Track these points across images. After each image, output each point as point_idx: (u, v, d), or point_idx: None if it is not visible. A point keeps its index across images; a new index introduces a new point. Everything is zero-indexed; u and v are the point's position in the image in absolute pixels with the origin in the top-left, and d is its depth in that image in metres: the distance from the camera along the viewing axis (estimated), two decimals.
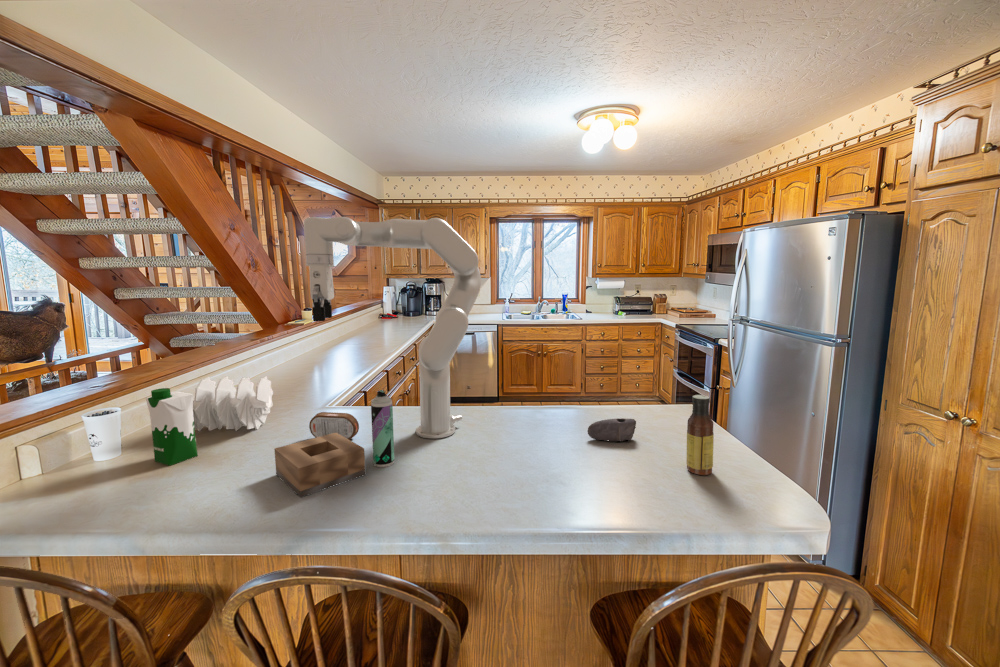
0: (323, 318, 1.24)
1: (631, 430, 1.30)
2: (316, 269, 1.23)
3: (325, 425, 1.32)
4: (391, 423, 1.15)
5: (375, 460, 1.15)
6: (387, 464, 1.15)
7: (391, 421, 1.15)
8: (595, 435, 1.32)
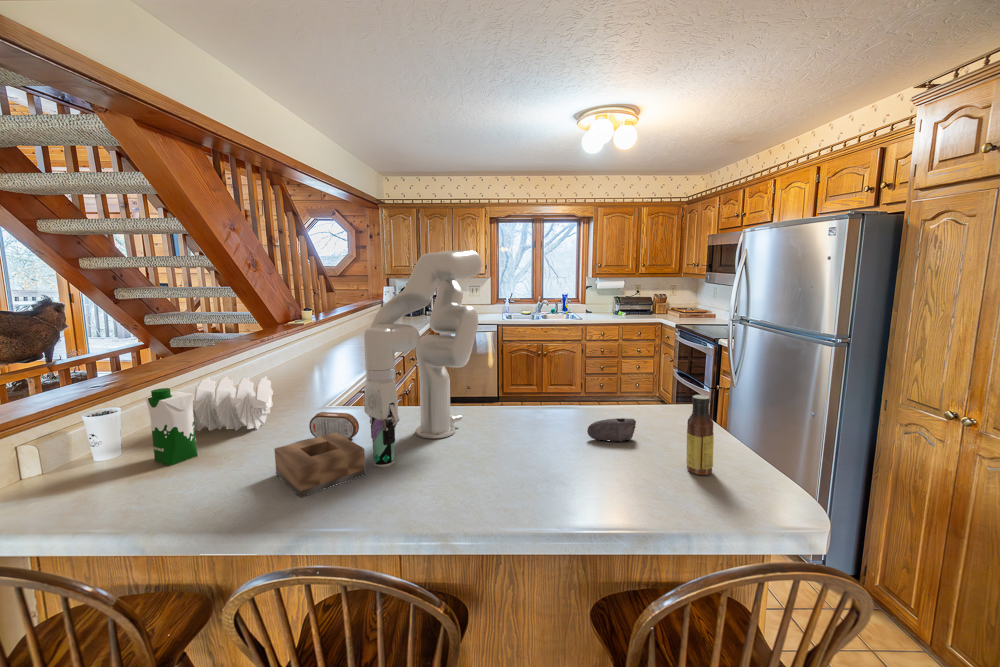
0: None
1: (631, 430, 1.30)
2: None
3: (325, 425, 1.32)
4: None
5: (375, 460, 1.15)
6: (387, 464, 1.15)
7: None
8: (594, 435, 1.32)
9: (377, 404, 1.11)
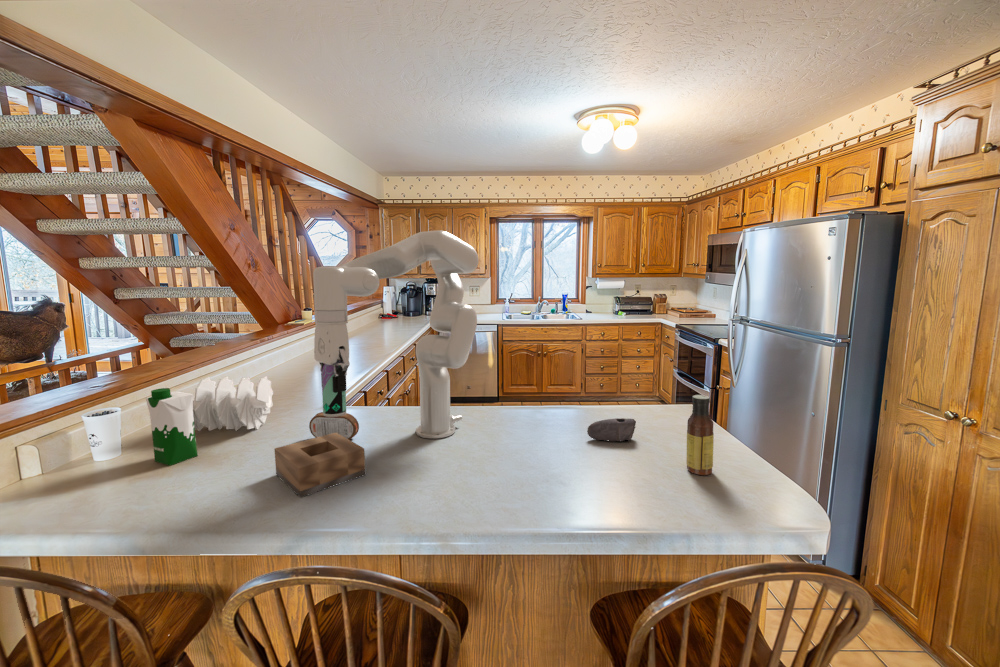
0: None
1: (631, 430, 1.31)
2: None
3: (325, 425, 1.32)
4: None
5: (324, 409, 1.07)
6: (337, 414, 1.07)
7: None
8: (594, 435, 1.32)
9: (326, 347, 1.04)
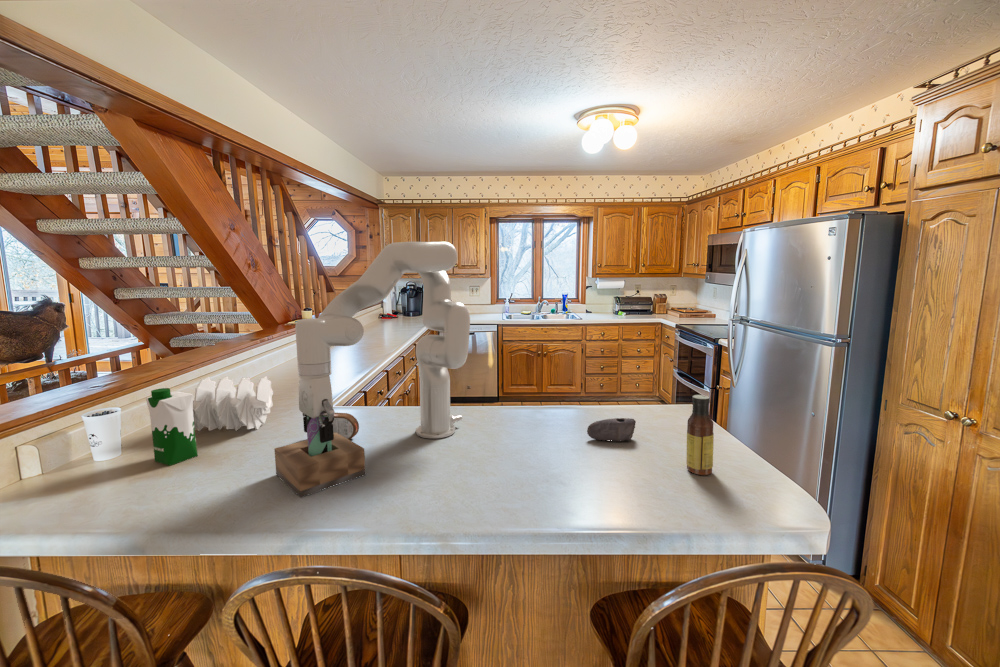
0: None
1: (631, 430, 1.31)
2: None
3: None
4: None
5: None
6: None
7: None
8: (594, 435, 1.32)
9: (309, 401, 1.03)
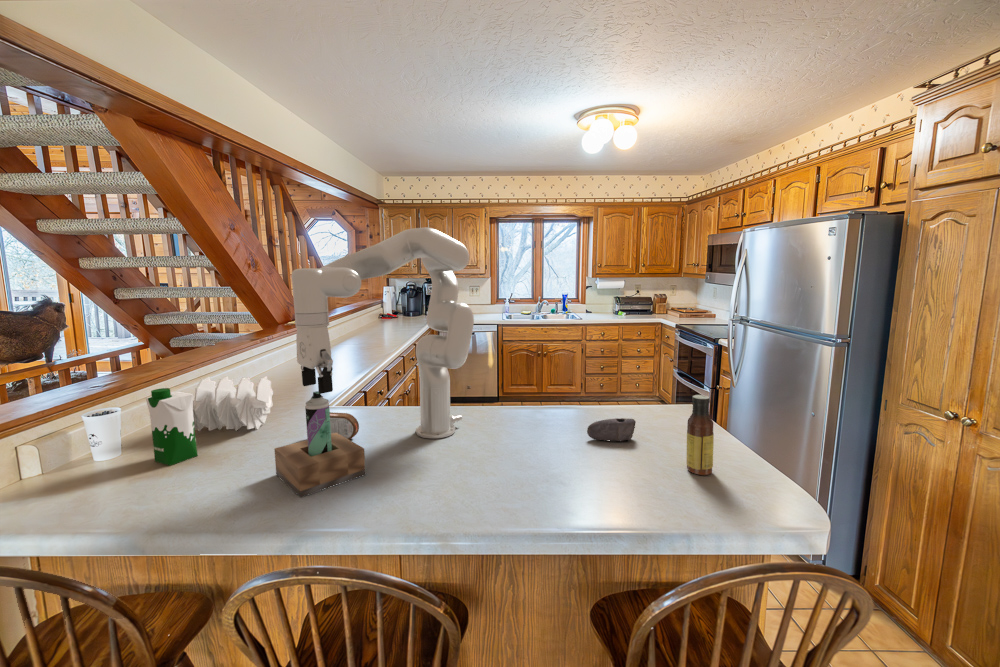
0: None
1: (631, 430, 1.31)
2: None
3: None
4: (327, 426, 1.08)
5: None
6: None
7: (327, 424, 1.08)
8: (594, 435, 1.32)
9: (307, 351, 1.02)
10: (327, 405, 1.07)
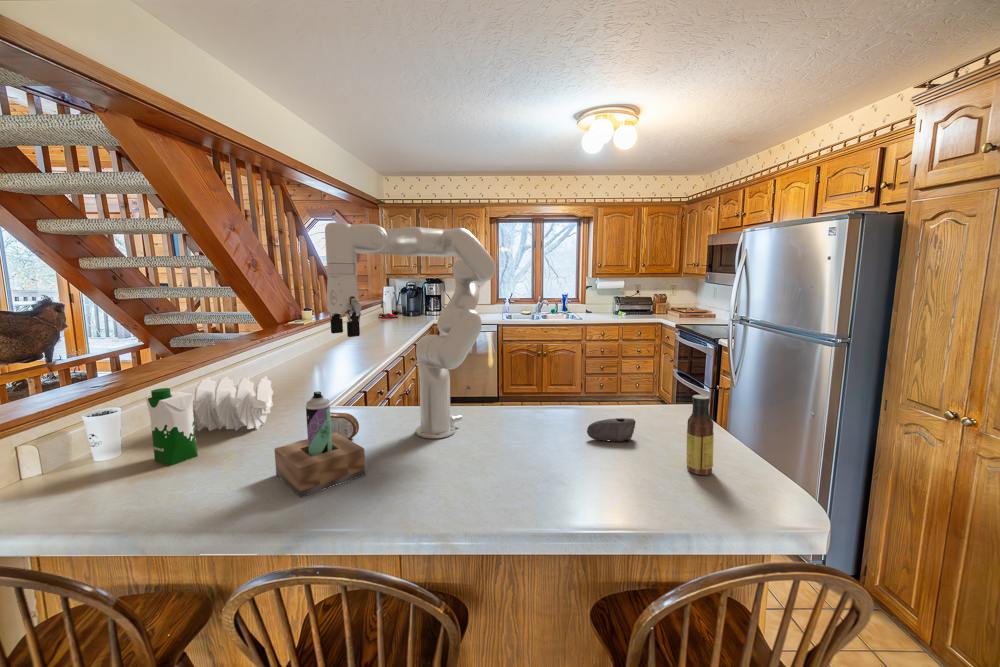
0: None
1: (630, 430, 1.31)
2: None
3: None
4: (328, 427, 1.08)
5: None
6: None
7: (328, 424, 1.08)
8: (594, 435, 1.32)
9: (338, 297, 1.12)
10: (328, 405, 1.07)
